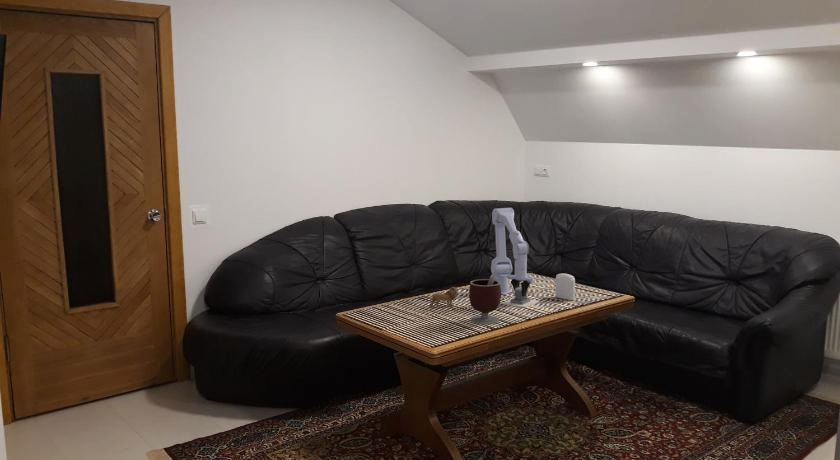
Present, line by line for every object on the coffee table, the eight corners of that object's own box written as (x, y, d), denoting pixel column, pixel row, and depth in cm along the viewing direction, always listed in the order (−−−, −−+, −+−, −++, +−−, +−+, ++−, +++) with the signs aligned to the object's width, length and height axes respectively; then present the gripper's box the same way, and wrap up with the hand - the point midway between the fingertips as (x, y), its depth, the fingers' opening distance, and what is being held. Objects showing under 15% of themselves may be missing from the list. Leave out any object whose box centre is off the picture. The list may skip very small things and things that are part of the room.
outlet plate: (501, 303, 310) (501, 300, 310) (515, 297, 321) (515, 294, 321) (525, 307, 302) (525, 303, 302) (539, 301, 313) (539, 297, 313)
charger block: (514, 300, 311) (514, 288, 310) (520, 298, 315) (520, 286, 314) (520, 301, 309) (521, 289, 308) (526, 299, 312) (526, 287, 312)
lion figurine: (454, 303, 312) (454, 285, 311) (459, 306, 307) (459, 287, 306) (427, 307, 306) (426, 288, 305) (431, 309, 301) (431, 291, 300)
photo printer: (553, 297, 322) (554, 272, 320) (559, 295, 324) (559, 271, 322) (570, 301, 314) (571, 276, 312) (576, 299, 316) (576, 274, 315)
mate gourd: (488, 327, 272) (488, 280, 270) (462, 321, 282) (462, 276, 279) (509, 319, 284) (509, 274, 281) (484, 313, 293) (484, 270, 290)
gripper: (538, 268, 307) (537, 296, 309) (512, 264, 317) (512, 291, 319) (529, 270, 302) (529, 299, 304) (504, 266, 312) (504, 294, 314)
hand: (520, 295), depth 311 cm, fingers closed on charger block, 3 cm apart
